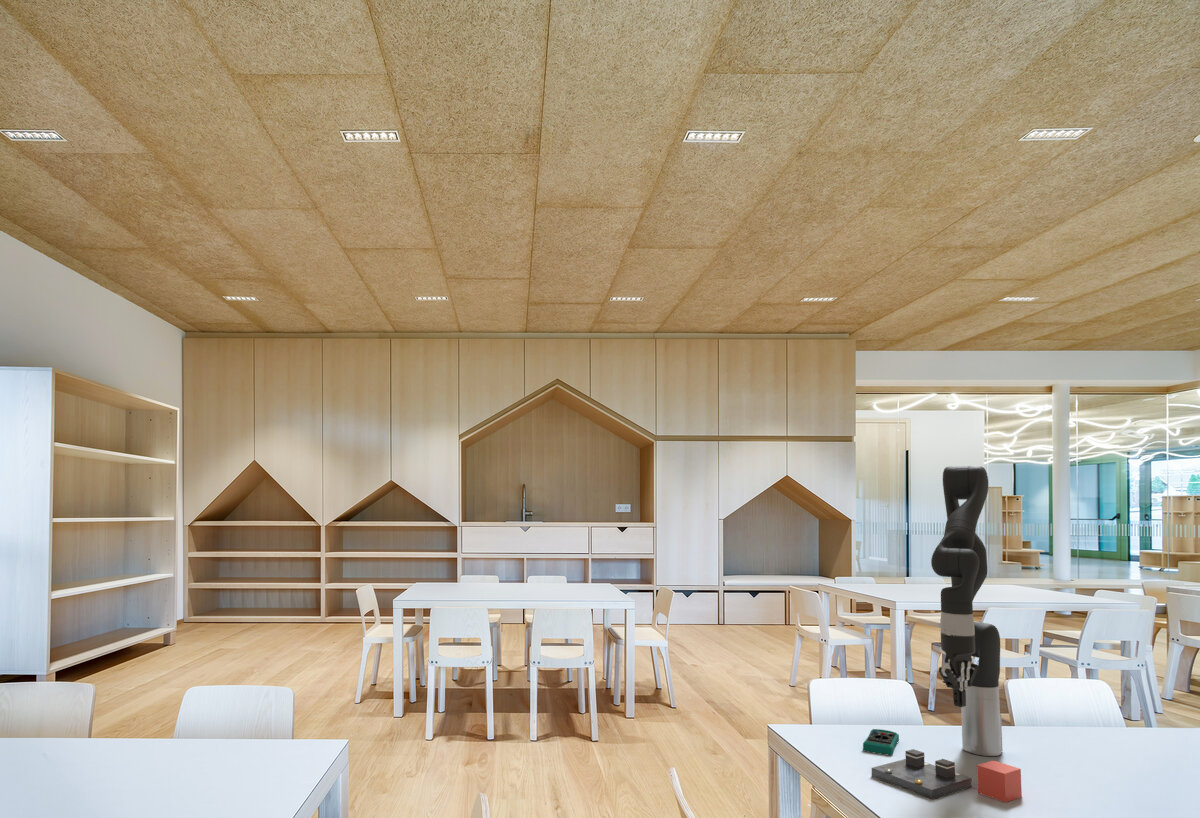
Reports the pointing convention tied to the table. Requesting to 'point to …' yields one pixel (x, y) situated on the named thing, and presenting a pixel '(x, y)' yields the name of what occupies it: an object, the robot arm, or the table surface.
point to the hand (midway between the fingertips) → (959, 706)
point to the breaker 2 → (945, 768)
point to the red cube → (999, 781)
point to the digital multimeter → (881, 741)
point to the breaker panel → (920, 779)
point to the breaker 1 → (915, 758)
